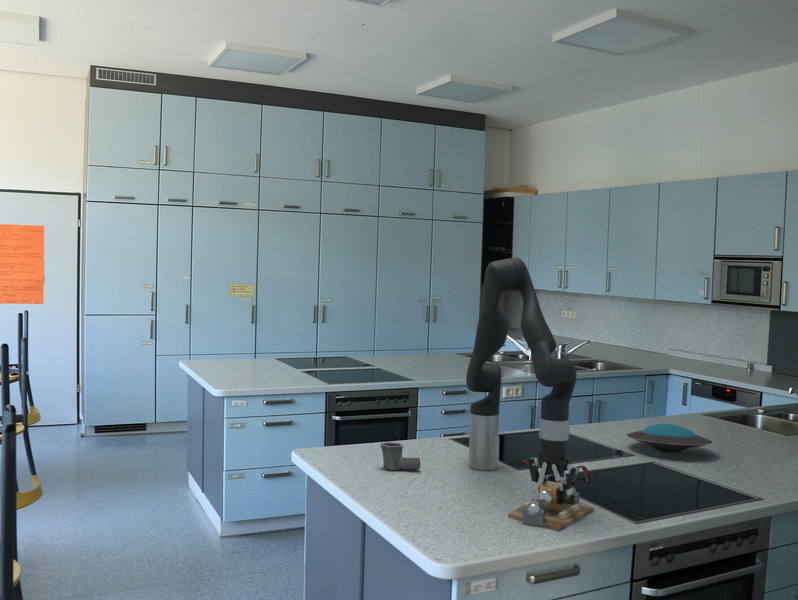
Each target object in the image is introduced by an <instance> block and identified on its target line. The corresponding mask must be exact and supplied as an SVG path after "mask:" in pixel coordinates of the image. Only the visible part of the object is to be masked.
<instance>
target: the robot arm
mask: <svg viewBox="0 0 798 600" xmlns="http://www.w3.org/2000/svg"><path fill="white" fill-rule="evenodd" d="M516 291H518V293H519V294H520V296H521V299H522V312H521V316H520V330H521V333H522V335H523V338H524V340H525V343H526V346H527V347H528V349H529V350H530V351H529V352H530V355H531V361H532V367H533V371H534V375H535V378H536V380H537V381H538V383H539V384H540V385H542V386H543V387H546V388H552V390H551V392H550V393H548V394H546V395H544V396H543V397H542V398H541V402H540V420H539V421H540V422H539V429H538V456H537V457H535V456H533V457H530V458H528V459H527V462H528V464H527V465H528V469H529V473H530V479H531V481H532V482H533V483H536V484H537V485H538V486H537V487H538V489H537V490H538V492H537V494H538V493H539V492H540V485H541V484H543V483H545V482H547V481H548V478H549V477H550V476H552V477H554V478H555V481H556V483H558V487H559V490H558V504H559V505H562V504H564V502H565V501H566V490H569V489H571V488H573V487H574V488H575V484H576V482H577V477H578V475H579V473H580V468H579V467H578V466H579V465H578V466H574V465H572V464H570V461H569V449H570V447H569V446H570V421H569V416H570V414H569V413H570V403H571V400H572V396H573V393H574V390H575V386H576V382H577V369H576V365H575V364H574V362H573V361H572V360H570V359H569V358H566V357H565V358H552V355H551V354H552V353H554V352H555V350H556V349H557V341H556V339H555V337H554V335H553V332H552V331H551V329H550V327H549V325H548V323H547V321H546V319H545V317H544V314H543V311H542V309H541V306H540V302H539V300H538V296H537V293H536V290H535V287H534V284H533V281H532V278H531V275H530V271H529V269H528V267H527V265H526V263H525V262H524V260H523V259H521V258H519V257H509V258H505V259H499V260H494V261H491V262H489V263H488V265H487V266H486V269H485V272H484V280H483V293H482V303H481V306H480V307H481V308H480V313H479V318H478V321H477V326H476V331H475V337H474V338H475V339H474V345H473V350H472V352H471V357H470V360H469V363H468V365H467V366H468V367H467V370H466V376H465V382H466V383H465V384H466V387H467V390H469V391H470V392H473V393H488V394H487V395H486V396H485V397H483V398H482V399H479V400H476V401H475V402H472V403H471V404H470V407H469V408H470V409H469V411H470V413H469V441H468V442H469V443H468V467H469V468H471V469H474V470H480V471H491V470H493V471H494V470H496V469H497V468H498V466H499V462H500V461H499V460H500V436H499V435H500V434H499V430H500V429H499V427H500V426H499V425H500V404H501V403H500V400H501V388H502V387H501V386H502V378H503V377H502V369H501V366H500V365H499V364H498V363H494V362H493V363H489V362H488V363H486V362H487V361H488V360H490V358H492V357H493V356H494V355H495V354H496V353H497V352H498V351H500V350H501V349H502V347H503V346H504V345H505V343H506V341H507V339H508V333H509V330H510V329H509V328H510V321H509V317H508V315H506V313H505V311H504V310H503V307H501V305H500V299H501V296H502V295H503V294H505V293H506V294H507V293H512V292H516ZM537 465H540V467H541V468H540V470H539V467H538V466H537ZM567 468H568V472H567V473H568V478H567V476H566V469H567ZM539 471H540V472H539Z"/></svg>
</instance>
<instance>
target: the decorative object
mask: <svg viewBox="0 0 798 600" xmlns="http://www.w3.org/2000/svg"><path fill="white" fill-rule="evenodd" d="M624 436H625V437H627V438H629V439H631V440H635V441H637V442H639V443H644V444H646V445H648V446H650V447H651V448H653V449H654V450H656V451H658V452H661V453H670V454H671V453H673V454H679V453H682V452H683V451H686V450H687V449H688V448H698V447H704V446H708V445H712V444H714V442H713V441H712V440H711V439H709V438H706V437H703V436H701V435H697V434H696V433H695V432H694V431H692V430H691V429H689V428H687V427H685V426H682V425H677V424H673V423H655V424H651V425H649V426H646V427H645V428H644V429H642V430H638V431H633V432H629V433H627V434H625V435H624Z"/></svg>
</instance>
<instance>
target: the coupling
mask: <svg viewBox="0 0 798 600" xmlns="http://www.w3.org/2000/svg"><path fill="white" fill-rule="evenodd" d="M558 490H559V487H558V483H557V482H555V481H551V480H547V481H546V482H545V483H543V484H541V485H540V492H539V493H538V492H537V494H536V496H535V498H536V499H537V501H538V502H539V503H540V504H541V506H548V507H552V508H557V507H558V506H560V505H559V504H558ZM566 494H567V490H566Z"/></svg>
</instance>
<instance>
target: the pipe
mask: <svg viewBox="0 0 798 600" xmlns="http://www.w3.org/2000/svg"><path fill="white" fill-rule="evenodd" d="M380 447H381V452H382V458H383V462H382V463H383V468H384V469H385V471H386V470H387V471H400V470H401V471H402V470H403V471H418V470H419V471H420V469H421V459H420V457H403V448H404V445H403V444H401V443H398V442H390V441H389V442H382V443H380Z"/></svg>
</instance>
